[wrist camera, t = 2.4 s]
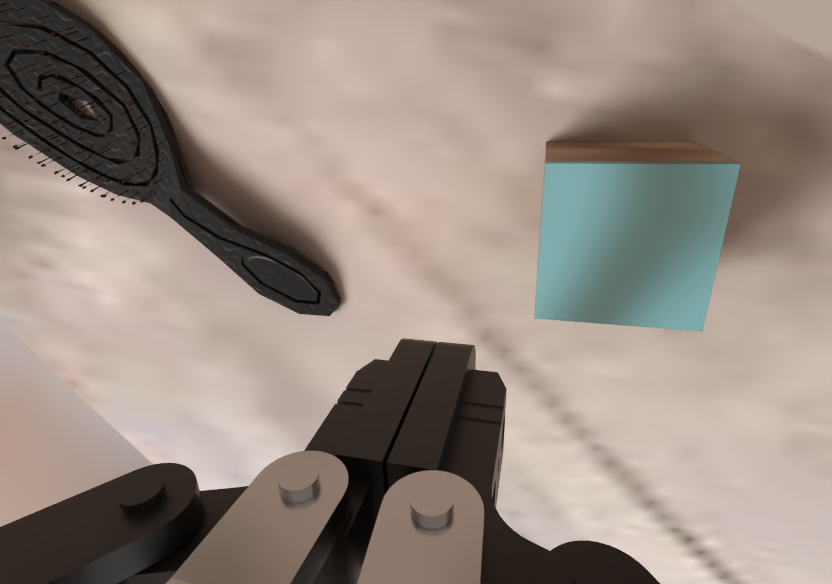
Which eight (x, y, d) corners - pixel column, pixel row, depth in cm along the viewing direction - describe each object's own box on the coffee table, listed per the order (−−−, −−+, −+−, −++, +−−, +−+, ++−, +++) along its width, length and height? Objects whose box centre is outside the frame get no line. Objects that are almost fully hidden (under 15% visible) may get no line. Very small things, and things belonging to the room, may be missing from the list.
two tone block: (537, 265, 25) (534, 318, 19) (546, 141, 22) (545, 163, 17) (667, 272, 23) (702, 331, 18) (691, 141, 21) (740, 164, 15)
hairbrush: (285, 373, 28) (-108, 86, 25) (310, 340, 31) (-35, 83, 28) (363, 275, 24) (-88, -75, 21) (382, 249, 28) (-7, -57, 25)
